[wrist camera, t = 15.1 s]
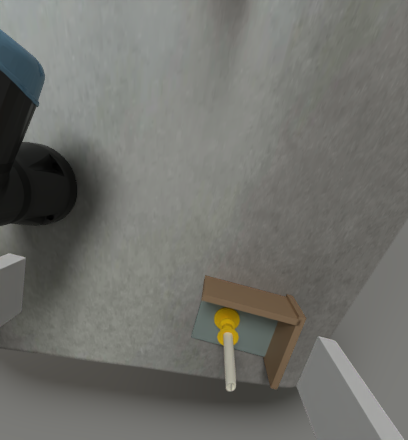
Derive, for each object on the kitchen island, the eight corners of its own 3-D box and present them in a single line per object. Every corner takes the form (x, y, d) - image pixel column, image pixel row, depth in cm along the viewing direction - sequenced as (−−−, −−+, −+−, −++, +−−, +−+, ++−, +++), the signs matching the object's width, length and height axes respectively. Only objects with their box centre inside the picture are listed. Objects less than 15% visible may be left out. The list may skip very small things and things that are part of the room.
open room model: (188, 336, 48) (183, 364, 41) (206, 272, 44) (204, 291, 38) (268, 358, 48) (276, 389, 41) (292, 295, 44) (306, 318, 38)
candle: (236, 304, 45) (245, 372, 30) (242, 327, 46) (253, 404, 31) (211, 309, 45) (207, 378, 30) (217, 331, 46) (216, 409, 31)
